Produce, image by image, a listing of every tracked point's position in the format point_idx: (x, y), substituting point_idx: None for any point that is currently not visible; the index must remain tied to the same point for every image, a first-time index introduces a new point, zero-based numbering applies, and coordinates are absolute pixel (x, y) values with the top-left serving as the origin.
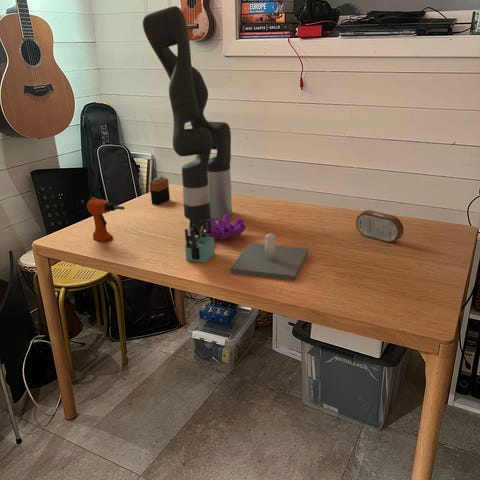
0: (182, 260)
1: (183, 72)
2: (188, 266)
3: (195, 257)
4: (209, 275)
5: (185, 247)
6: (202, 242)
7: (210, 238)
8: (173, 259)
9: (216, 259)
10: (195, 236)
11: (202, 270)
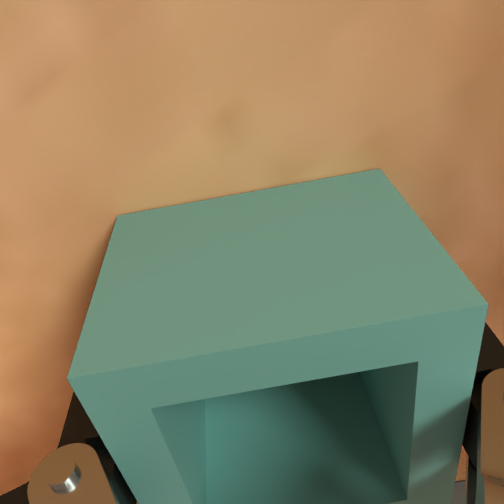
0: (85, 178)
1: None
2: (11, 310)
3: None
4: (6, 487)
5: (83, 335)
6: (387, 383)
7: (428, 500)
8: (32, 44)
9: None
10: (474, 335)
11: (35, 427)
